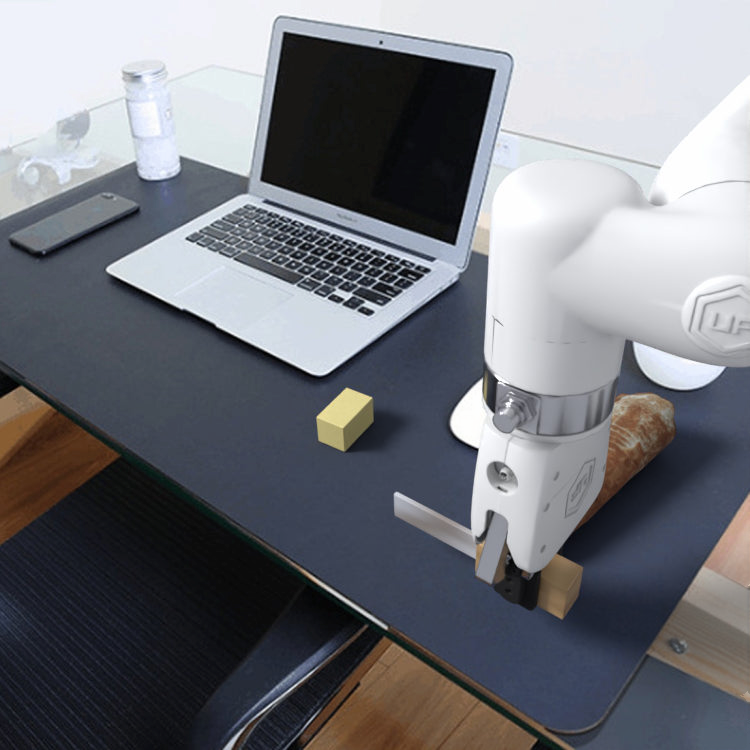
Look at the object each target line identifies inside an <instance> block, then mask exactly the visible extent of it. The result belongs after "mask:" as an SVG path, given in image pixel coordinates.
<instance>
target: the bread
mask: <svg viewBox="0 0 750 750" xmlns="http://www.w3.org/2000/svg"><path fill="white" fill-rule="evenodd" d="M675 414H676V407H675V404H674V403H673V402H672V401H670V400H668V399H667V398H666V397H662V396H660V395H658V394H655V393H654V392H651V391H648V392H635V393H633V394H628V393H624V392H621V393H619V394H618V395H616V397H615V403H614V408H613V413H612V417H611V426H610V435H609V444H608V453H607V461H606V468H605V476H604V481H603V485H602V488H601V490H600V492H599V494H598V496H597V497H596V499H595V501H594V502H593V504H592V505H591V506H590V508H589V509H588V511H587V512H586V513H585V515H584V516H583V518H582V519H581V520H580V522H579V523H578V525H577V526H576V527H575V529H574V530H573V531H572V533H571V534H570V536H572V534H573V533H575V532H576V531H577V530H578V529H580V527H582V526H583V525H584V524H586V523H587V522H588V521H589V520H591V518H593V516H594V515H596V514H597V513H598V511H599V510H601V508H602V507H604V505H606V503H607V502H608V501H609V500H610V499H611V498H612V497H614V496H616V494H617V493H618V492H619V491H620V490H621V489H622V488H623V487H624V486H625V485H626V484H627V483H628V482H629V481H631V480H632V478H633V477H634V476H636V475H637V474H638V473H639V472H640V471H642V470H643V469H644V468H645V467H647V465H648V464H649V463H650V462H651V461H652V460H653V459H654V458H655V457H657V456H658V455H659V454H661V452H662V451H663V450H664V449H665V448H667V447H668V445H669V444H671V442H672V441H674V439H675V438H676V436H677V426H676V425H677V424H676V420H675Z"/></svg>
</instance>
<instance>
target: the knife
mask: <svg viewBox="0 0 750 750" xmlns="http://www.w3.org/2000/svg"><path fill="white" fill-rule="evenodd" d="M393 509H394V512H393V513H394V516H395V517H397V518H399V520H400V519H401V520H402V521H404V522H406V523H407V524H409V525H412V526H413V527H415V528H417V529H419V530H420V531H423V532H424V533H426V534H428V535H429V536H432V537H433V538H436V539H438V540H439V541H441V542H443V543H445V544H447V545H448V546H450V547H452V548H454V549H456V550H458V551H459V552H462V553H464V554H465V555H466V556H469V557H471V558H472V559H474V560H475V568H474V571H475V572H474V573H476V570H477V566H478V563H479V560H480V556H481V553H482V550H483V546H484V543H485V541H484V542H483V543H482V544H479V545H476V544H475V542H474V539H473V536H472V530H471V529H469V528H468V527H466V526H464V525H462V524H460V523H458V522H456V521H454V520H452V519H450V518H448V517H447V516H444V515H443V514H441V513H439V512H437V511H435V510H433V509H431V508H429V507H427V506H425V505H423V504H422V503H420V502H417V501H416V500H414V499H412V498H410V497H408V496H406V495H404V494H402V493H401V492H399V491H395V492H394V493H393ZM583 573H584V567H583V566H582V565H579V564H578V563H577V562H574V561H572V560H570V559H568V558H566V557H565V556H563V555H562V556H560V555H558V554H555V556H554V557H553V558H552V559H551V561H550V562H549V563H548V564H547V565H546V566H545V567H544V568H543V569H541V579H540V586H539V594H538V602H537V606H536V607H539V608H540V609H542V610H544V611H546V612H548V613H550V614H551V615H553V616H554V617H557V618H558V619H560V620H564V618H565V617H566V615H567V614H568V613H569V611H570V610H571V608H572V607H573V605H574V603H575V602H576V601H577V599H578V597H579V594H580V589H581V583H582V576H583Z"/></svg>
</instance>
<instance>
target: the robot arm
mask: <svg viewBox="0 0 750 750" xmlns="http://www.w3.org/2000/svg"><path fill="white" fill-rule="evenodd" d="M490 210H491V211H490V220H489V239H488V240H489V241H488V262H487V263H488V264H487V282H486V283H487V285H486V305H485V306H486V308H485V324H484V325H485V326H484V345H483V362H482V363H483V364H482V384H481V386H482V387H481V402H482V403H481V404H482V407H483V409H484V411H485V413H486V416H485V418H484V422H483V427H482V432H481V436H480V441H479V446H478V451H477V458H476V464H475V471H474V478H473V484H472V485H473V487H472V495H471V496H472V497H471V508H470V509H471V510H470V528H471V529H470V530H472V536H473V539H474V542H475V544H476V545H479V544H482V543H483V542H484V541H485V543H484V546H483V550H482V553H481V556H480V560H479V563H478V566H477V570H476V572H474V573H475V574H474V578H475V579H476V580H478V581H480V582H482V583H484V584H485V585H487V586H489V587H491V588H493V590H494V592H495V593H497V594H499V595H500V596H501V597H502V598H503V599H504V600H505V601H507V602H509V603H512V604H514V605H519V606H520V607H522V608H523V609H525V610H528V611H530V612H533V611H534V610H535V609H536V607H538V606H537V602H538V594H539V586H540V579H541V569H543V568H544V567H545V566H546V565H547V564H548V563H549V562H550V561H551V559H552V558H553V557H554V556H555V554H558V555H560V556H562V557H563V550H564V544H565V542H566V541H567V540H568V538H569V537H571V535H572V534H573V533H572V531H573V530H574V529H575V527H576V526H577V525H578V523H579V522H580V520H581V519H582V518H583V516H584V515H585V513H586V512H587V511H588V509H589V508H590V506H591V505H592V504H593V502H594V501H595V499H596V497H597V496H598V494H599V492H600V490H601V488H602V485H603V481H604V476H605V468H606V461H607V453H608V444H609V435H610V426H611V417H612V413H613V408H614V403H615V398H616V397H617V391H618V385H619V380H620V374H621V370H622V369H621V368H622V363H623V362H622V361H623V356H624V350H625V346H626V340H627V341H629V342H633V343H637V344H640V345H643V346H646V347H648V348H651V349H655V350H658V351H660V352H663V353H665V354H669V355H673V356H675V357H678V358H682V359H685V360H688V361H692V362H696V363H699V364H705V365H709V366H716V367H721V368H722V367H723V368H724V367H725V368H750V74H748V76H747V77H745V78H744V79H743V80H742V81H741V82H739V84H738V85H737V86H736V87H735V88H734V89H733V90H732V91H731V92H730V93H729V94H728V95H726V97H724V99H723V100H722V101H721V102H719V104H717V105H716V107H714V108H713V109H712V110H711V111H710V112H709V113H708V114H707V115H706V116H705V117H704V118H703V119H702V120H701V121H700V122H698V124H697V125H696V126H695V127H694V128H693V129H692V130H691V131H690V132H688V134H687V135H686V136H685V137H684V138H683V139H682V140H681V141H680V142H679V143H678V144H677V145H676V147H675V148H674V149H673V151H672V152H671V153H670V154H669V155H668V156H667V158H666V159H665V160H664V162H663V163H662V165H661V167H660V169H659V170H658V172H657V174H656V175H655V177H654V179H653V181H652V184H651V187H650V189H649V193H648V195H647V196H646V193H645V191H644V190H643V188H642V186H641V184H640V183H639V182H638V181H637V180H636V179H635V178H634V177H632V176H631V175H630V174H629V173H627V172H626V171H624V170H623V169H621V168H619V167H617V166H614V165H611V164H608V163H605V162H601V161H597V160H591V159H584V158H583V159H582V158H569V157H565V158H562V157H561V158H547V159H542V160H538V161H533V162H530V163H527V164H524V165H522V166H520V167H518V168H516V169H515V170H513V171H512V172H510V173H509V174H507V175H506V177H505V178H504V179H503V180H502V181H501V182H500V183H499V185H498V186H497V188H496V191H495V193H494V195H493V198H492V202H491V209H490ZM571 533H572V534H571ZM570 534H571V535H570Z"/></svg>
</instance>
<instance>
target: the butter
mask: <svg viewBox="0 0 750 750" xmlns="http://www.w3.org/2000/svg"><path fill="white" fill-rule="evenodd" d="M315 418H316V427H317V438H318V442H320V443H323V444H325V445H328V446H330V447H331V448H334V449H337V450H339V451H342V452H344V453H346V451H347V450H348V449H349V448H350V447H351V446H352V445H353V444H354V443H355V442H356V441H357V440H358V438H360V436H361V435H363V434H364V432H365V431H366V430H367V429H368V428H370V426H371V425H372V424H373V423H374V398H373V397H372V396H371V395H367V394H364V393H362V392H359V391H356V390H354V389H351V388H349V387H345V388H344V389H343V391H341V393H339V394H338V395H337V396H336V397H335V398H334V399H333V400H332V401H331V402H330V403H329V404H328V405H327V406H326V407H325V408H324V409H322V411H321V412H320V413H319V414H318V415H317V416H316V417H315Z"/></svg>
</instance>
